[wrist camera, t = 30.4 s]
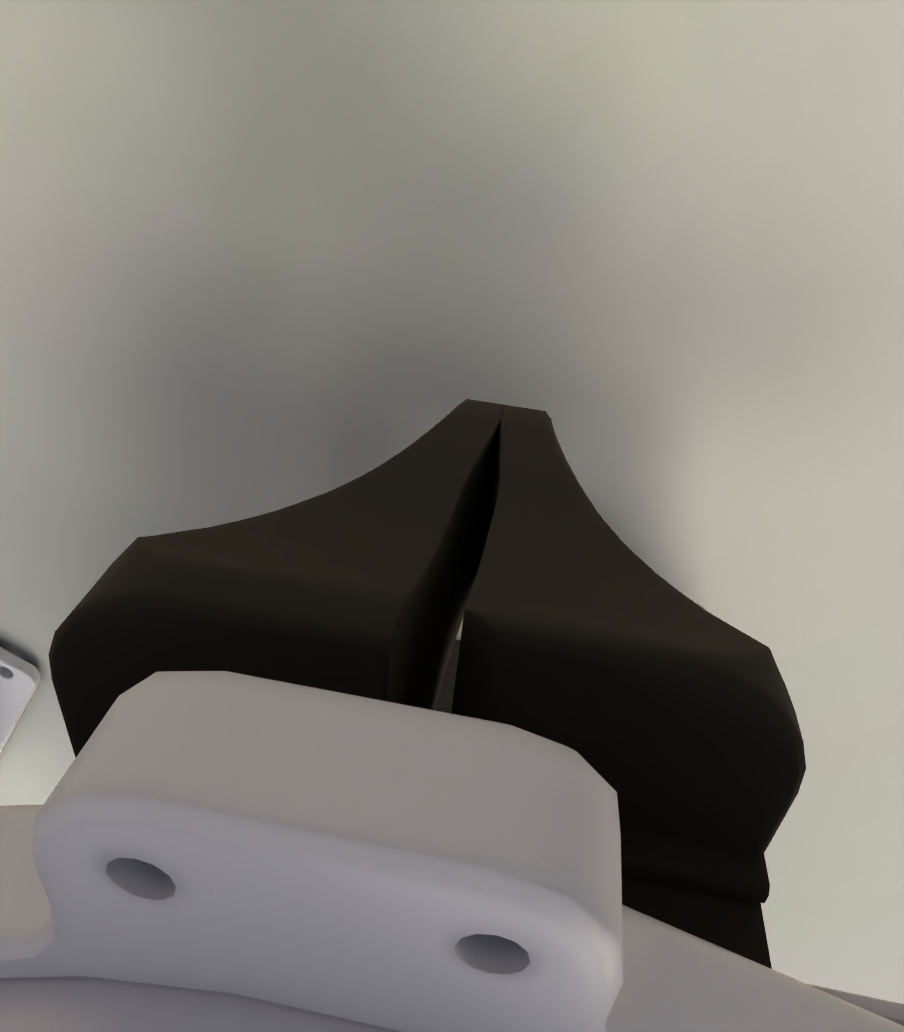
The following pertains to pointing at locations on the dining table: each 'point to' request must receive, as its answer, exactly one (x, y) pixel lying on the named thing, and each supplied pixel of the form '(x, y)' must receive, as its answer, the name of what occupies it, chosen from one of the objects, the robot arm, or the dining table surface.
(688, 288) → the dining table surface
